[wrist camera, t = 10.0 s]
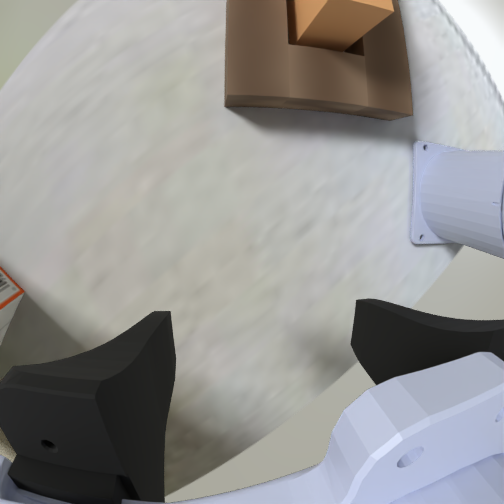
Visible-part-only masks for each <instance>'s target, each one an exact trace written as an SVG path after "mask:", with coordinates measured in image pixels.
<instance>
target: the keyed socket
mask: <svg viewBox="0 0 504 504" xmlns="http://www.w3.org/2000/svg"><path fill="white" fill-rule="evenodd" d="M392 4H393V9H394V12H393V13H392V14H390V15H389V16H388V17H386V18H385V19H384V20H382V21H381V22H380V23H378V24H377V25H376V26H375V27H373V28H372V29H371V30H369V31H368V32H367V33H366V34H364V35H363V36H362V37H361V38H359V39H358V40H357V41H356V42H354V43H353V44H352V45H351V46H350V47H348V48H347V49H346V50H345V52H340V51H334V50H328V49H321V48H314V47H307V46H299V45H290V44H288V27H287V6H286V0H227V5H226V40H225V105H224V107H268V108H287V109H301V110H313V111H324V112H333V113H342V114H350V115H357V116H364V117H371V118H377V119H383V120H389V121H391V120H395V119H399V118H403V117H407V116H411V115H413V108H412V94H411V83H410V73H409V64H408V57H407V49H406V42H405V36H404V30H403V24H402V19H401V14H400V9H399V4H398V0H392Z"/></svg>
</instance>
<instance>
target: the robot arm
mask: <svg viewBox="0 0 504 504" xmlns="http://www.w3.org/2000/svg"><path fill="white" fill-rule="evenodd" d="M423 146H425V151H424V149H423ZM413 155H414V166H413V202H412V220H411V233H410V240H411V242H412V243H414V244H438V243H460V244H463V245H466V246H469V247H472V248H475V249H478V250H480V251H483V252H486V253H489V254H492V255H495V256H497V257H500V258H503V259H504V151H467V150H463V149H458V148H454V147H450V146H445V145H440V144H435V143H430V142H425V141H416V142H415V143H414V146H413ZM421 235H422V238H421V240H420V236H421ZM351 346H352V348H353V351H354V353H355V355H356V357H357V358H358V360H359V362H360V364H361V365H362V366H363V368H364V369H365V370H366V372H367V373H368V375H369V376H370V377H371V379H372V380H373V381H374V383H375V384H376V386H374V387H372V388H369V389H367V390H366V391H365V392H363V393H362V394H361V395H360V396H359V397H358V398H357V399H356V400H355V401H353V402H352V403H351V404H350V405H349V406H348V407H346V408H345V409H344V411H343V413H342V415H341V416H340V418H339V420H338V422H337V424H336V425H335V427H334V429H333V431H332V434H331V438H330V442H329V447H328V451H327V453H326V456H325V458H324V460H323V461H322V462H320V463H319V464H317V465H314V466H311V467H309V468H306V469H303V470H301V471H298V472H295V473H292V474H289V475H286V476H283V477H280V478H277V479H274V480H271V481H267V482H264V483H261V484H257V485H254V486H250V487H247V488H242V489H238V490H235V491H230V492H226V493H221V494H217V495H212V496H207V497H202V498H197V499H191V500H185V501H178V502H172V503H165V498H164V448H165V430H166V423H167V417H168V412H169V407H170V402H171V397H172V392H173V387H174V381H175V370H176V354H175V346H174V338H173V330H172V321H171V311H154V312H152V313H150V314H149V315H148V316H146V317H145V318H143V319H142V320H141V321H139V322H138V323H137V324H135V325H134V326H132V327H131V328H130V329H128V330H127V331H125V332H123V333H122V334H120V335H119V336H117V337H116V338H114V339H112V340H111V341H109V342H107V343H105V344H103V345H101V346H99V347H97V348H94V349H92V350H90V351H87V352H84V353H81V354H78V355H76V356H73V357H69V358H66V359H62V360H58V361H53V362H48V363H42V364H34V365H24V366H13V367H12V368H11V369H10V371H9V372H8V373H7V374H6V376H5V377H4V378H3V379H2V381H1V382H0V427H1V429H2V430H3V432H4V434H5V436H6V437H7V439H8V441H9V442H10V444H11V446H12V447H13V449H14V450H15V452H16V454H17V455H16V457H15V459H14V461H13V463H12V462H11V461H10V460H9V459H7V458H6V457H4V456H2V455H0V504H504V320H482V321H481V320H464V319H455V318H449V317H442V316H437V315H433V314H429V313H425V312H421V311H417V310H413V309H410V308H406V307H403V306H400V305H396V304H393V303H389V302H386V301H382V300H377V299H360V300H356V308H355V316H354V324H353V331H352V338H351Z"/></svg>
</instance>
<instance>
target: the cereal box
mask: <svg viewBox="0 0 504 504" xmlns="http://www.w3.org/2000/svg"><path fill="white" fill-rule="evenodd" d="M24 292H25V291H24V290H23V289H22V288H21V287H20V286H19V285H18V284H17V283H16V282H15V281H14V280H13V279H12V278H11V277H10V276H9V275H8V274H7V273H6V272H5V271H4V270H3V269H2V268H1V267H0V346H1V343H2V341H3V338H4V336H5V333H6V331H7V329H8V326H9V324H10V322H11V320H12V317H13V315H14V313H15V311H16V309H17V307H18V305H19V302H20V300H21V298H22V296H23V294H24Z"/></svg>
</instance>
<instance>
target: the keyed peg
mask: <svg viewBox="0 0 504 504" xmlns="http://www.w3.org/2000/svg"><path fill="white" fill-rule="evenodd" d="M286 6H287V19H288V31H289V44H290V45H299V46H307V47H314V48H321V49H328V50H334V51H340V52H343V51H345V50H346V49H347V48H348V47H350V46H351V45H352V44H353V43H354V42H356V41H357V40H358V39H359V38H361V37H362V36H363V35H364V34H366V33H367V32H368V31H369V30H371V29H372V28H373V27H375V26H376V25H377V24H378V23H380V22H381V21H382V20H384V19H385V18H386V17H388V16H389V15H390V14H392V13H393V12H394V9H393V4H392V0H286Z"/></svg>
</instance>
